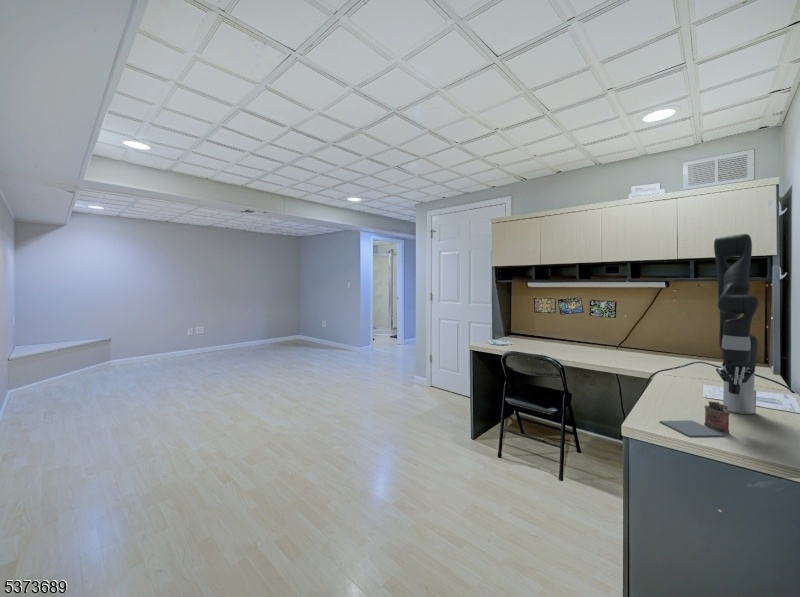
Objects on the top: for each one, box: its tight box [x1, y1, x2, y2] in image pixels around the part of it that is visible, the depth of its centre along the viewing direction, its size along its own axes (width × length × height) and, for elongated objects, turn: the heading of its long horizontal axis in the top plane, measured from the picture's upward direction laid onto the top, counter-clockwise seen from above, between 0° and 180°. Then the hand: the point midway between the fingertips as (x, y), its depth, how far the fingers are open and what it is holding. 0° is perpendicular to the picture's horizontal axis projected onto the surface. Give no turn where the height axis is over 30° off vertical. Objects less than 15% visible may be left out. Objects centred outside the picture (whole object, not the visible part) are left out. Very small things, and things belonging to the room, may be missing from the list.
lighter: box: [703, 400, 731, 434], centre depth 124 cm, size 8×3×10 cm, turn 5°
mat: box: [659, 419, 726, 438], centre depth 124 cm, size 13×13×1 cm
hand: (734, 393), depth 125 cm, fingers closed
